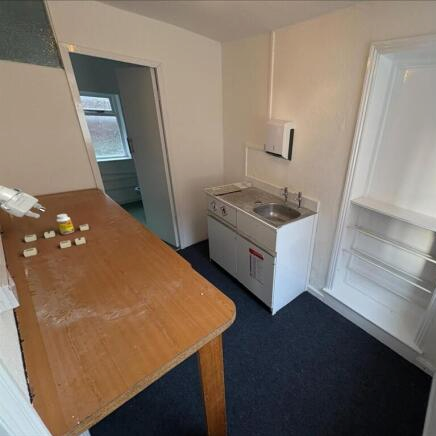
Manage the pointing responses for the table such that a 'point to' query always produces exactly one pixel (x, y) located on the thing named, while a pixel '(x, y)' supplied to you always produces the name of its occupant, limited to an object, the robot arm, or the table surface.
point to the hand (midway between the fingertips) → (42, 213)
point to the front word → (63, 245)
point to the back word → (52, 233)
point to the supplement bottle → (64, 224)
